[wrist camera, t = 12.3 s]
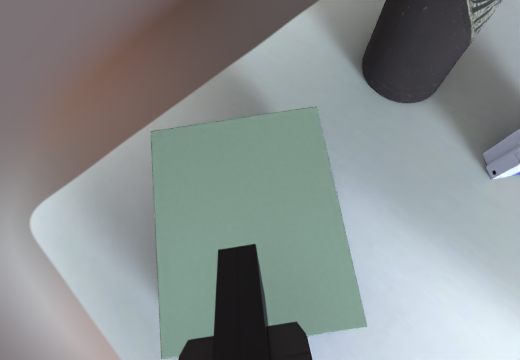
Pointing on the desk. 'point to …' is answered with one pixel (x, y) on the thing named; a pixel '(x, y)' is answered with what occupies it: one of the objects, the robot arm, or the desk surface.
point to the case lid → (250, 223)
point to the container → (420, 44)
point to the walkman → (504, 157)
